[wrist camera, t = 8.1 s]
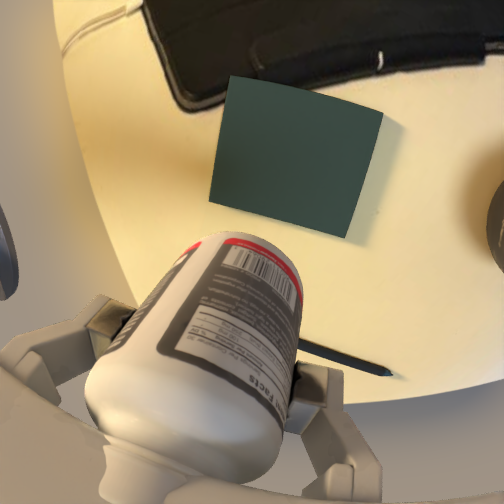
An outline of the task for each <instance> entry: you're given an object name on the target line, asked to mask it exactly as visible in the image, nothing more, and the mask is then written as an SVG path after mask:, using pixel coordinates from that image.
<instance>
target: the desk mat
mask: <svg viewBox="0 0 504 504" xmlns="http://www.w3.org/2000/svg"><path fill="white" fill-rule="evenodd" d="M382 117H383V113H382V112H379V111H376V110H373V109H370V108H367V107H364V106H361V105H358V104H355V103H351V102H348V101H345V100H341V99H338V98H334V97H331V96H327V95H324V94H320V93H316V92H312V91H308V90H304V89H300V88H295V87H291V86H286V85H282V84H277V83H272V82H267V81H261V80H256V79H250V78H244V77H238V76H230V80H229V85H228V90H227V95H226V101H225V106H224V111H223V117H222V122H221V128H220V134H219V139H218V145H217V151H216V157H215V163H214V170H213V176H212V182H211V189H210V196H209V202H213V203H217V204H221V205H225V206H229V207H233V208H236V209H240V210H244V211H248V212H252V213H255V214H259V215H263V216H267V217H270V218H274V219H278V220H281V221H285V222H289V223H292V224H296V225H300V226H303V227H307V228H310V229H314V230H317V231H321V232H324V233H328V234H331V235H335V236H338V237H341V238H345V236H346V233H347V230H348V227H349V225H350V222H351V219H352V216H353V213H354V210H355V207H356V204H357V201H358V198H359V195H360V192H361V189H362V186H363V182H364V179H365V176H366V173H367V170H368V166H369V163H370V160H371V156H372V153H373V150H374V146H375V143H376V139H377V136H378V132H379V128H380V125H381V121H382Z"/></svg>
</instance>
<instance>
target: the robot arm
mask: <svg viewBox="0 0 504 504" xmlns="http://www.w3.org/2000/svg"><path fill="white" fill-rule="evenodd" d="M136 311H137V309H135V308H133V307H130V306H128V305H125V304H123V303H121V302H119V301H116V300H114V299H111V298H109V297H107V296H105V295H102V294H100V295H97V296H96V297H95V298H94V299H93V300H92V301H91V302H90V303H89V304H88V305H87V306H86V307H85V308H84V309H83V310H82V311H81V312H80V313H79V314H78V315H77V317H75V319H74V320H73V321H71V320H66V321H63V322H59V323H56V324H53V325H50V326H47V327H44V328H40V329H37V330H34V331H31V332H28V333H24V334H21V335H18V336H15V337H14V338H13V339H11V341H10V342H9V343H8V344H7V345H6V346H5V347H4V348H3V349H2V350H1V351H0V504H112V503H110V502H108V501H106V500H105V499H103V498H102V497H101V496H100V494H99V484H100V482H101V480H102V478H103V476H104V475H105V471H106V468H107V465H106V455H105V453H104V450H103V446H104V445H111V444H110V442H109V441H108V440H107V439H106V438H105V436H104V434H105V433H103V432H101V431H99V430H97V429H95V428H94V427H92V426H90V425H88V424H86V423H84V422H82V421H81V420H79V419H77V418H75V417H74V416H72V415H71V414H69V413H67V412H65V411H64V410H62V409H61V408H59V407H58V405H59V404H60V403H61V397H60V395H59V393H58V391H57V389H56V386H58V385H60V384H62V383H64V382H66V381H68V380H70V379H72V378H74V377H76V376H78V375H80V374H82V373H84V372H86V371H88V370H90V369H92V368H93V366H94V365H95V363H96V362H97V360H98V359H99V358H100V357H101V355H102V354H103V353H104V352H105V351H106V349H107V348H108V347H109V346H110V344H111V343H112V342H113V341H114V339H115V338H116V337H117V335H118V334H119V333H120V332H121V330H122V329H123V328H124V327H125V325H126V324H127V322H128V321H129V320H130V319H131V317H132V316H133V315H134V313H135V312H136ZM343 393H344V373H343V371H342V370H338V369H334V368H329V367H325V366H321V365H316V364H312V363H308V362H303V361H299V360H297V362H296V363H295V366H294V373H293V380H292V386H291V392H290V398H289V404H288V410H287V416H286V422H285V428H284V431H286V432H290V433H294V434H299V435H301V438H302V441H303V443H304V445H305V448H306V450H307V453H308V455H309V457H310V460H311V462H312V464H313V467H314V469H315V472H316V474H317V476H318V478H317V479H316V480H314V481H313V482H312V483H311V484H309V485H308V486H307V487H306V488H304V489H303V490H302V496H301V497H300V496H294V495H288V494H282V493H276V492H271V491H267V490H262V489H257V488H253V487H249V486H244V485H240V484H236V483H233V482H229V481H225V480H222V479H218V478H215V477H211V476H208V475H205V474H203V476H202V475H201V476H193V475H186V476H185V478H186V479H187V482H186V483H184V484H182V485H181V486H179V487H177V488H176V489H174V490H173V491H171V492H169V493H167V496H166V498H165V500H164V502H163V504H504V491H496V492H491V493H486V494H481V495H476V496H470V497H463V498H456V499H448V500H439V501H427V502H410V503H382V466H381V464H380V463H379V461H378V460H377V458H376V456H375V455H374V453H373V452H372V450H371V449H370V447H369V445H368V444H367V442H366V441H365V439H364V438H363V436H362V434H361V433H360V431H359V430H358V428H357V427H356V425H355V424H354V422H353V420H352V419H351V417H350V416H349V414H348V413H347V412H343ZM105 435H107V434H105Z"/></svg>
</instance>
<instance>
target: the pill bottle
mask: <svg viewBox="0 0 504 504" xmlns="http://www.w3.org/2000/svg"><path fill="white" fill-rule="evenodd" d="M302 308H303V285H302V282H301V279H300V276H299V274H298V271H297V269H296V268H295V266H294V264H293V263H292V261H291V260H290V259H289V258H288V257H287V256H286V255H285V254H284V253H283V252H282V251H281V250H279V249H278V248H277V247H275V246H274V245H273V244H271V243H269V242H268V241H266V240H264V239H261V238H259V237H257V236H254V235H251V234H247V233H243V232H231V231H226V232H220V233H214V234H210V235H208V236H205V237H203V238H201V239H199V240H197V241H195V242H194V243H193V244H191V245H190V246H189V247H188V248H187V249H186V250H185V251H184V252H183V254H182V255H181V256H180V257H179V259H178V260H177V261H176V262H175V263H174V264H173V266H172V267H171V268H170V269H169V271H168V272H167V273H166V275H165V276H164V277H163V278H162V280H161V281H160V282H159V283H158V285H157V286H156V287H155V288H154V290H153V291H152V292H151V293H150V295H149V296H148V297H147V298H146V300H145V301H144V302H143V303H142V304H141V306H140V307H139V308H138V310H137V311H136V312H135V313H134V315H133V316H132V317H131V319H130V320H129V321H128V322H127V324H126V325H125V327H124V328H123V329H122V330H121V332H120V333H119V334H118V335H117V337H116V338H115V339H114V341H113V342H112V343H111V344H110V346H109V347H108V348H107V349H106V351H105V352H104V353H103V354H102V355H101V357H100V358H99V359H98V360H97V362H96V363H95V365H94V366H93V368H92V370H91V372H90V373H89V376H88V378H87V381H86V385H85V400H86V405H87V409H88V411H89V414H90V416H91V418H92V419H93V421H94V422H95V424H96V426H97V427H98V429H97V430H99V431H101V432H103V433H105V434H107V435H105V434H104V436H105V438H106V439H107V440H108V441H109V442H110V444H111V445H104V446H103V450H104V453H105V455H106V465H107V468H106V471H105V475H104V476H103V478H102V480H101V482H100V484H99V494H100V496H101V497H102V498H103V499H105V500H106V501H108V502H110V503H112V504H163V502H164V500H165V498H166V496H167V493H169V492H171V491H173V490H174V489H176V488H177V487H179V486H181V485H182V484H184V483H186V482H187V479H186V478H185V476H186V475H193V476H201V475H202V476H203V474H205V475H208V476H211V477H215V478H218V479H222V480H225V481H229V482H233V483H236V484H244V483H247V482H251V481H253V480H256V479H257V478H259V477H261V476H262V475H264V474H265V473H266V472H267V471H268V470H269V469H270V468H271V467H272V466H273V464H274V463H275V461H276V459H277V457H278V454H279V450H280V447H281V444H282V441H283V433H284V428H285V422H286V416H287V410H288V404H289V398H290V392H291V386H292V380H293V373H294V366H295V360H296V353H297V346H298V339H299V332H300V325H301V319H302Z"/></svg>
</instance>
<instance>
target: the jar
mask: <svg viewBox="0 0 504 504" xmlns="http://www.w3.org/2000/svg"><path fill="white" fill-rule="evenodd" d="M486 231H487V239H488V244H489V247H490V250H491V252H492V255H493V258H494V260H495V262H496V263H497V265H498V266H499V268H500V269H501V270H502V272H503V273H504V181H503V182H502V183H501V185H500V186H499V187H498V189H497V191H496V192H495V194H494V196H493V199H492V201H491V204H490V207H489V211H488V216H487V225H486Z"/></svg>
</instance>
